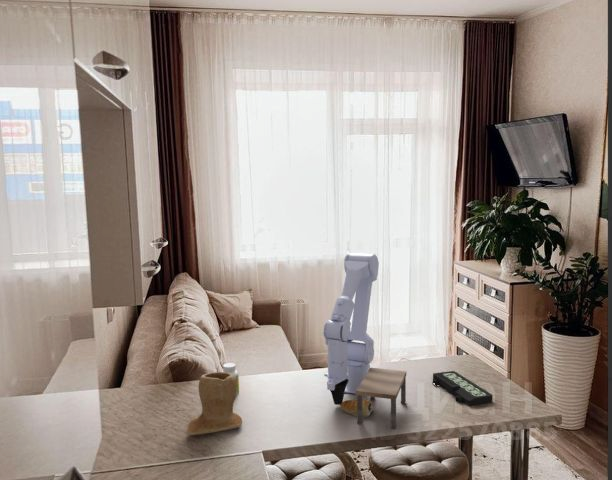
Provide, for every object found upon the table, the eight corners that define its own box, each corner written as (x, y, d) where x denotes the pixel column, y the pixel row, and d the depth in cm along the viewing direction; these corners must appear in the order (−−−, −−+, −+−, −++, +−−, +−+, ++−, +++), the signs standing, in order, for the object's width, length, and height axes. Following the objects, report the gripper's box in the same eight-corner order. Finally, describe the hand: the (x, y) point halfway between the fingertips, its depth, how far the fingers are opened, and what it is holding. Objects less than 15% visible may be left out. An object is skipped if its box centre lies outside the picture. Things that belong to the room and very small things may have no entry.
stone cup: (237, 413, 153) (235, 364, 151) (245, 432, 142) (243, 379, 140) (184, 422, 148) (182, 371, 146) (188, 442, 137) (185, 387, 135)
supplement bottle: (237, 397, 164) (236, 368, 163) (220, 397, 164) (219, 368, 163) (240, 390, 169) (239, 361, 168) (223, 390, 169) (222, 362, 168)
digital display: (427, 372, 173) (454, 369, 176) (427, 382, 173) (453, 378, 176) (464, 398, 153) (493, 394, 155) (464, 408, 153) (493, 404, 156)
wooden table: (370, 397, 161) (370, 367, 160) (406, 401, 157) (406, 371, 156) (356, 423, 144) (356, 390, 143) (396, 429, 141) (395, 395, 139)
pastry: (337, 414, 151) (336, 401, 150) (344, 404, 157) (344, 392, 157) (368, 418, 147) (368, 406, 147) (374, 409, 154) (374, 396, 153)
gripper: (331, 350, 162) (332, 392, 163) (316, 367, 148) (317, 412, 150) (353, 353, 159) (354, 395, 161) (340, 369, 146) (341, 415, 148)
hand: (338, 403), depth 155 cm, fingers closed
